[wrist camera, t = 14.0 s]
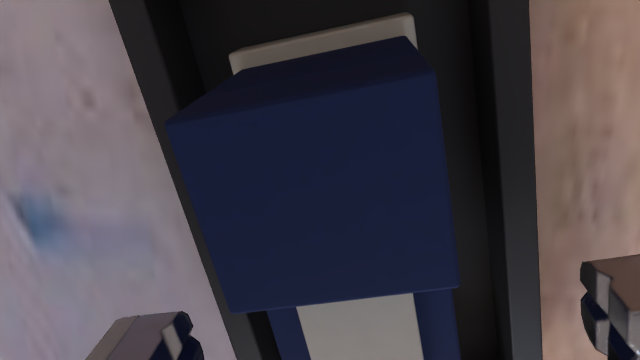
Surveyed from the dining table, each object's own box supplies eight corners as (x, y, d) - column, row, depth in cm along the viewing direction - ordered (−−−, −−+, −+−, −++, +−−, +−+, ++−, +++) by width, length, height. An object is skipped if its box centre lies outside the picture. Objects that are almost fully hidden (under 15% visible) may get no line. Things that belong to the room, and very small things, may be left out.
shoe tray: (520, 380, 16) (546, 445, 14) (284, 399, 17) (272, 461, 15) (487, -138, 10) (523, -173, 8) (141, -47, 12) (86, -55, 9)
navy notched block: (239, 48, 12) (138, 97, 7) (408, 11, 11) (448, 33, 6) (320, 345, 16) (296, 531, 10) (451, 331, 15) (499, 524, 10)
